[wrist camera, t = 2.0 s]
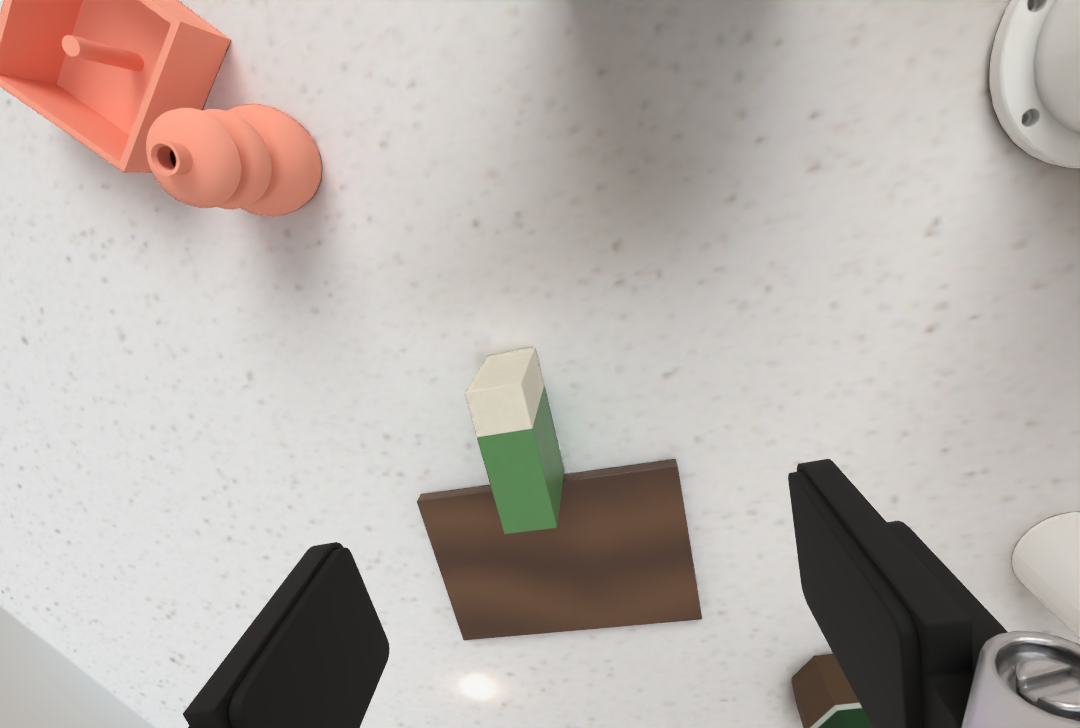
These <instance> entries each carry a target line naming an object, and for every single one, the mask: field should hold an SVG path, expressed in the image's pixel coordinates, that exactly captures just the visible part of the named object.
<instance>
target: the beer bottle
mask: <svg viewBox="0 0 1080 728" xmlns="http://www.w3.org/2000/svg"><path fill="white" fill-rule="evenodd" d="M792 683H793V688H794V693H795V698H796V703H797V708H798V711H799V714H800V718H801V721H802V724H803V727H804V728H872V726H871V724H870V722H869V720H868V718H867V716H866V714H865V712H864V711H863V709H862V707H861V705H860V703H859V701H858V699H857V697H856V695H855V693H854V692H853V690H852V688H851V686H850V684H849V682H848V680H847V678H846V676H845V674H844V673H843V671H842V669H841V667H840V665H839V663H838V661H837V659H836V657H835V656H834V654H830V655H822V656H814V657H813V658H812V659H811V660H810V661H809V662H808V663H807V664H806V665H805V666H804V667H803V668H802V669H801V670H800V671H799V672H798V673H797V674H796V675H795V676H794V677H793V679H792Z"/></svg>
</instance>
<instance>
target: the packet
mask: <svg viewBox="0 0 1080 728" xmlns="http://www.w3.org/2000/svg"><path fill="white" fill-rule="evenodd" d="M465 397H466V400H467V404H468V407H469V411H470V414H471V418H472V421H473V425H474V428H475V432H476V435H477V439H478V443H479V446H480V450H481V453H482V457H483V460H484V464H485V467H486V471H487V474H488V478H489V481H490V485H491V488H492V492H493V495H494V499H495V502H496V506H497V509H498V513H499V516H500V520H501V523H502V527H503V531H504V534H509V533H517V532H525V531H534V530H542V529H550V528H557V525H558V517H559V509H560V501H561V493H562V485H563V477H564V467H563V463H562V459H561V454H560V450H559V446H558V442H557V437H556V433H555V429H554V425H553V420H552V416H551V412H550V408H549V403H548V399H547V395H546V391H545V387H544V382H543V378H542V374H541V370H540V365H539V361H538V357H537V353H536V348H535V347H532V348H527V349H521V350H516V351H510V352H505V353H500V354H494V355H489V356H488V357H487V358H486V360H485V361H484V363H483V364H482V366H481V368H480V369H479V371H478V372H477V374H476V376H475V377H474V379H473V380H472V382H471V383H470V385H469V387H468V388H467V390H466V391H465Z"/></svg>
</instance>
